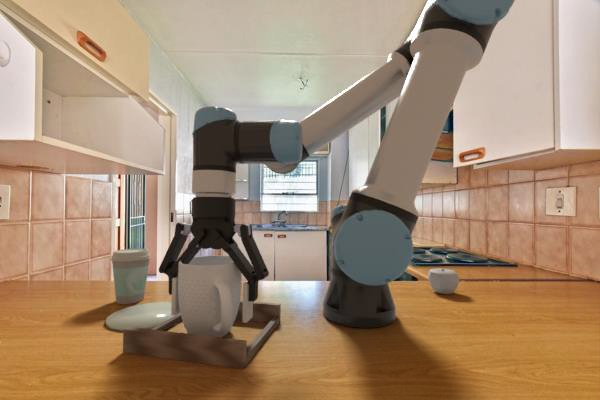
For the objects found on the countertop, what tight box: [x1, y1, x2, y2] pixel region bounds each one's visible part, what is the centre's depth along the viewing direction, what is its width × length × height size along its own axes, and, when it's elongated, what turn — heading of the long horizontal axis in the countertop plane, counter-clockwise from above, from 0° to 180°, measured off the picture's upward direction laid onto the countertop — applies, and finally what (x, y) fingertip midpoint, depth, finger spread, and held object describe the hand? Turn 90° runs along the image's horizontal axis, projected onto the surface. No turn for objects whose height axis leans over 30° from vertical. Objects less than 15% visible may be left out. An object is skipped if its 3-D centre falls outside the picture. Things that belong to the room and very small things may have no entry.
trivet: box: [105, 301, 176, 332], centre depth 61 cm, size 15×15×1 cm
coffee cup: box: [110, 248, 152, 305], centre depth 72 cm, size 8×8×12 cm
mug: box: [178, 254, 243, 338], centre depth 52 cm, size 15×11×13 cm
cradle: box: [122, 299, 282, 370], centre depth 52 cm, size 20×18×4 cm
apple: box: [427, 267, 460, 295], centre depth 81 cm, size 8×8×7 cm
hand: (211, 316), depth 52 cm, fingers open, 13 cm apart
